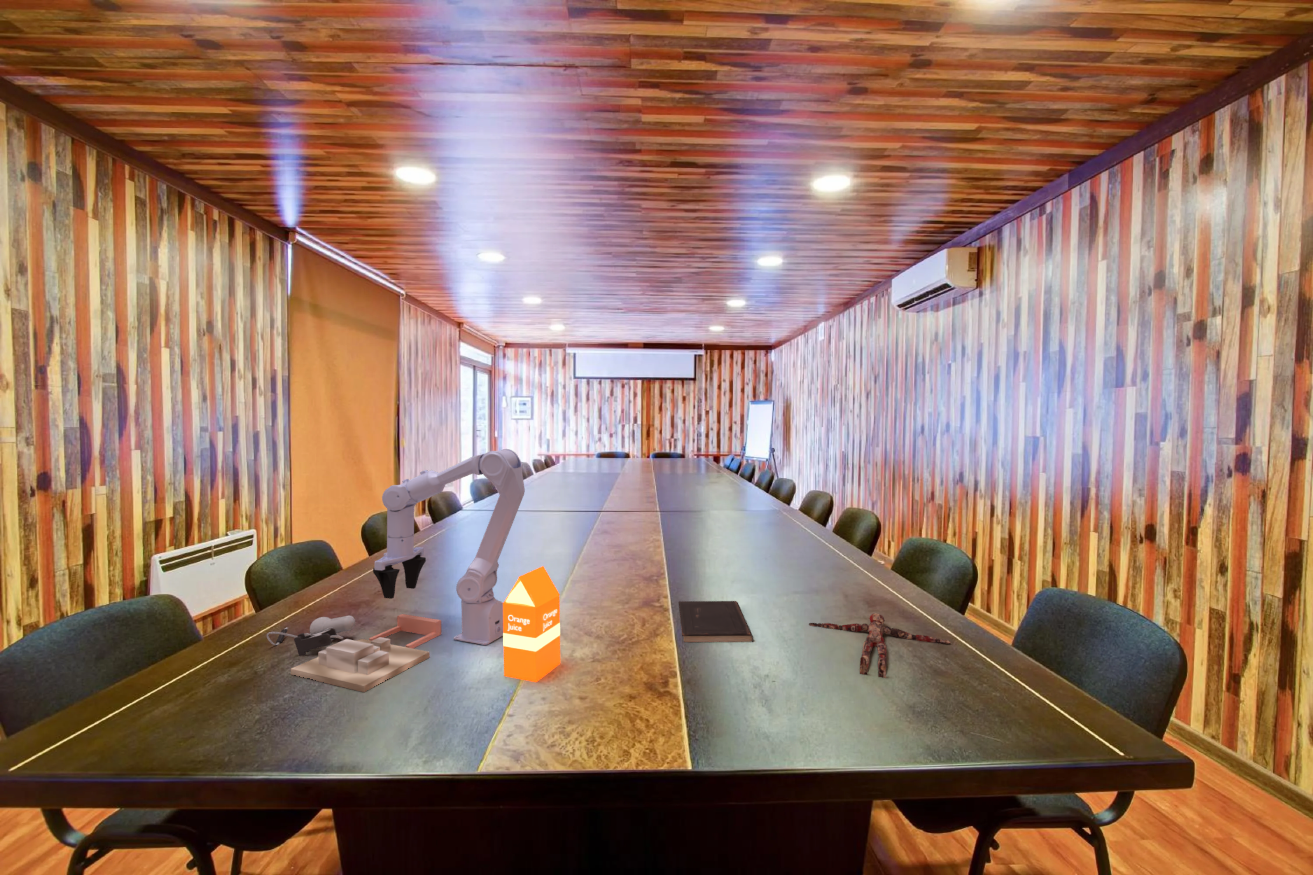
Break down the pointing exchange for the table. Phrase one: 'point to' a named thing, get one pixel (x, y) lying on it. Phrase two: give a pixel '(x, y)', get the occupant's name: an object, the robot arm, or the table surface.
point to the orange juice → (531, 627)
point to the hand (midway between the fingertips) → (400, 592)
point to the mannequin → (877, 640)
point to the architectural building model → (360, 663)
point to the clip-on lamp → (318, 633)
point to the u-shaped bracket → (414, 628)
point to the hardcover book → (713, 622)
